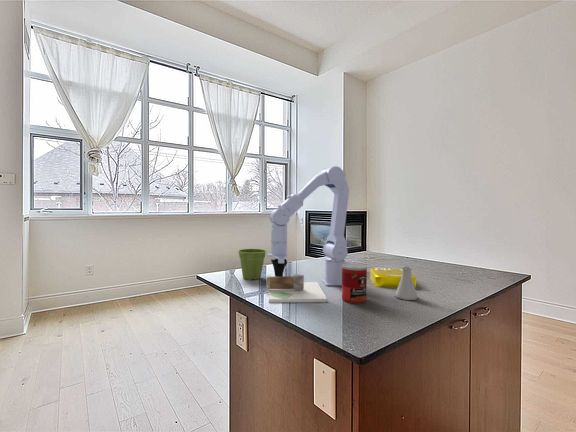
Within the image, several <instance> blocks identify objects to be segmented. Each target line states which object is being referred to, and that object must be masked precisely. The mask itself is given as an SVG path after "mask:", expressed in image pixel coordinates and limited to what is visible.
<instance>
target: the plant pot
mask: <svg viewBox="0 0 576 432" xmlns="http://www.w3.org/2000/svg"><path fill="white" fill-rule="evenodd" d="M267 252H268V251H267V250H266V249H262V248H242V249H241V248H240V249H238V250H237V253H238V255H239V256H238V257H239V260H240V265H241V267H240V268H241V273H242V278H243V279H244V280H249V281H252V280H260V279H261V277H262V272H263V268H264V267H263V265H264V260H265V256H266V253H267Z"/></svg>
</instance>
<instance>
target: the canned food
mask: <svg viewBox="0 0 576 432" xmlns="http://www.w3.org/2000/svg"><path fill="white" fill-rule="evenodd" d="M367 275H368V268H367V265H365V264H363V263H354V262H353V263H352V262H350V263H347V264H343V265H342V285H341V300H343V301H344V302H346V303H349V304H355V303H356V304H363V303H365V302H366V301H367V300H366V299H367V287H368V286H367V284H368V283H367V281H368V280H367V279H368V276H367Z"/></svg>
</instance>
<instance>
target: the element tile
mask: <svg viewBox="0 0 576 432" xmlns="http://www.w3.org/2000/svg"><path fill="white" fill-rule="evenodd" d="M402 273H403V269H402V268H385V267H384V268H383V267H371V268H370V270H369V276H370V277H369V279H370V281H371V282H372V284H373V285H374V286H375V287H377V288H378V287H379V288H396V289H397V288H398V286H399V283H400V281H401V278H402ZM411 276H412V281H413V284H414V287H416V288H417V276H415V275H414V274H413V273H412V272H411Z"/></svg>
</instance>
